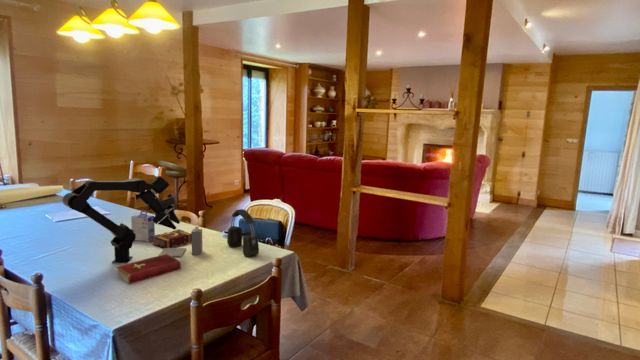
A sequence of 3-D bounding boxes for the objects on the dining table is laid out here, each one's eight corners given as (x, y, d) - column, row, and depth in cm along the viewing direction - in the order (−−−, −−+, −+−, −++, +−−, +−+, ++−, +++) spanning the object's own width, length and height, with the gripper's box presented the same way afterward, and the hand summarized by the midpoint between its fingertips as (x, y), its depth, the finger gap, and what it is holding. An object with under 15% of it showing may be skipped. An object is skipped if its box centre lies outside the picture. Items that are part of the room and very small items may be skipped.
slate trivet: (181, 257, 174) (181, 255, 174) (158, 257, 173) (158, 255, 173) (186, 249, 184) (186, 247, 184) (164, 249, 183) (164, 248, 183)
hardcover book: (181, 270, 162) (180, 260, 161) (128, 285, 146) (128, 274, 145) (167, 262, 169) (167, 253, 169) (116, 275, 154) (115, 265, 153)
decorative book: (192, 242, 196) (192, 232, 195) (163, 250, 183) (162, 240, 182) (179, 237, 202) (179, 228, 201) (150, 245, 189) (149, 235, 189)
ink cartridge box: (155, 238, 198) (154, 211, 196) (149, 241, 193) (147, 213, 191) (138, 236, 200) (137, 209, 198) (131, 240, 195) (130, 212, 193)
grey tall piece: (200, 254, 178) (200, 227, 176) (191, 254, 178) (191, 227, 176) (202, 251, 183) (202, 224, 180) (193, 251, 182) (193, 224, 180)
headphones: (260, 256, 179) (260, 214, 176) (248, 259, 175) (248, 216, 172) (237, 243, 196) (237, 204, 193) (225, 245, 192) (225, 206, 189)
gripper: (161, 193, 165) (187, 219, 168) (170, 185, 183) (193, 209, 187) (141, 210, 164) (168, 236, 168) (152, 201, 183) (176, 224, 186)
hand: (177, 225), depth 177 cm, fingers open, 9 cm apart
